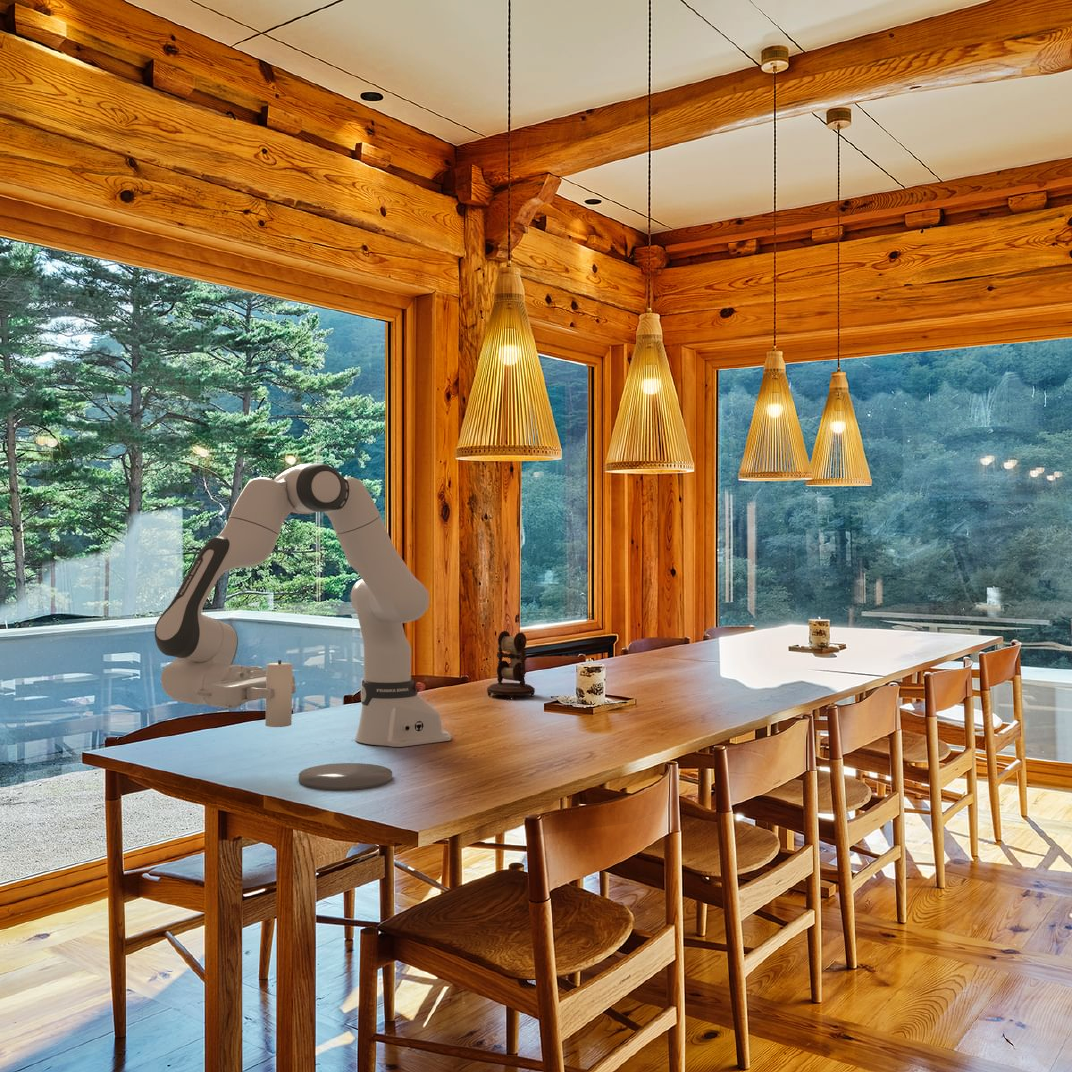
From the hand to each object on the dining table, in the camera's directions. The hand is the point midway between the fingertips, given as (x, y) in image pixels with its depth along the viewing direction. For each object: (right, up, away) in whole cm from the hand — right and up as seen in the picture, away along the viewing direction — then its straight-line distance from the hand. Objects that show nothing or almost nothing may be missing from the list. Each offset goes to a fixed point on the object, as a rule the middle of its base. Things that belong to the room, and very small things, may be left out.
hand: (282, 691), depth 196 cm
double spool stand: (+42, -19, +110) cm, 119 cm away
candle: (-1, -7, 0) cm, 7 cm away
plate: (+13, -17, -2) cm, 21 cm away
